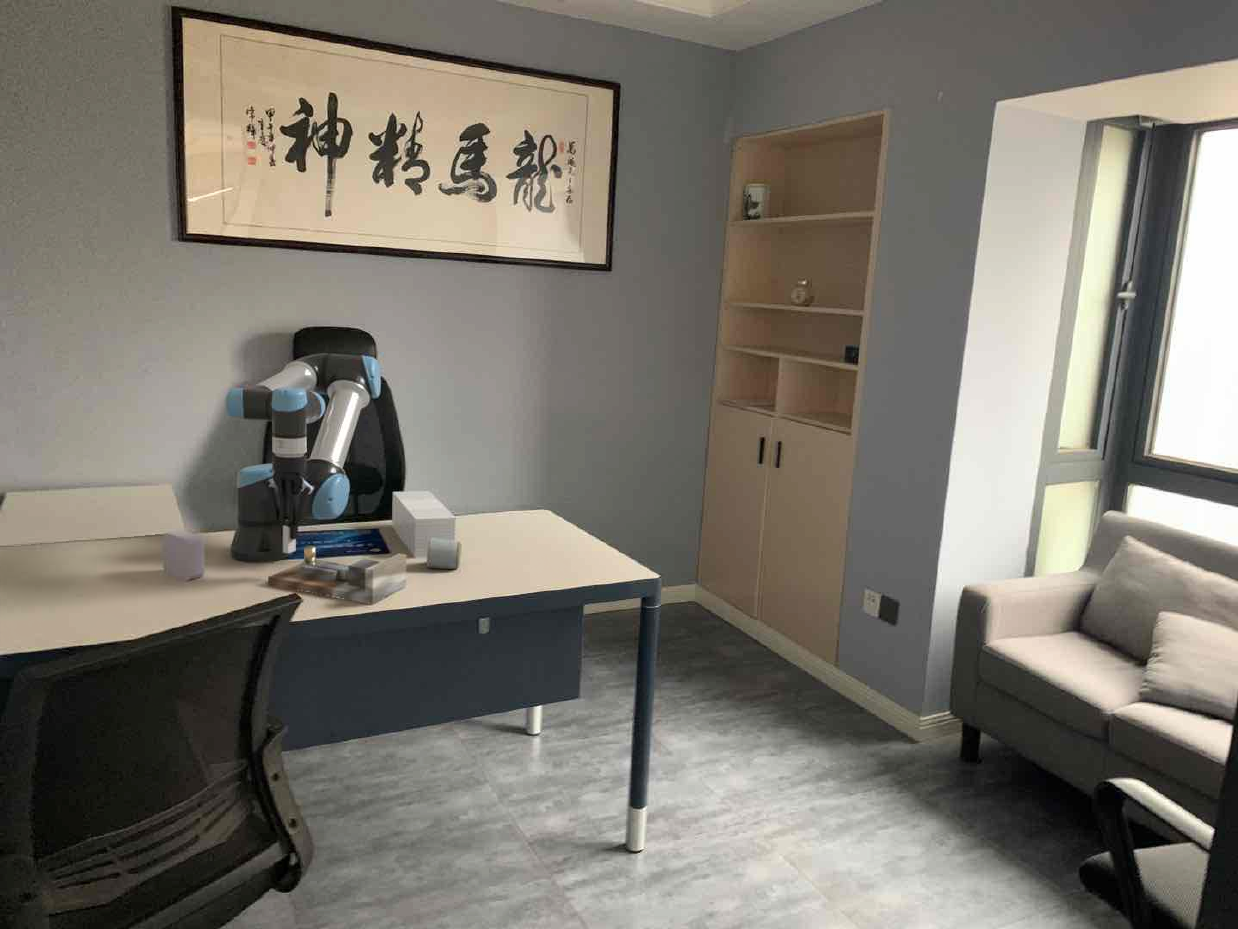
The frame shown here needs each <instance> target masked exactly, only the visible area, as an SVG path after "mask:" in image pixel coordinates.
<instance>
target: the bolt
mask: <svg viewBox="0 0 1238 929" xmlns="http://www.w3.org/2000/svg"><path fill="white" fill-rule="evenodd" d="M316 548H317V547H316V546H314V545H305V546H304V548H303V557H304V558H303V561H302V562H301V563H302V566H303V565H310V566H315V567H321V568H326V569H332V570H338V579H342V580H347V579H348V572H349V567H346V566H340V565H335V564H329V563H323V562H318V561H316V560H317V559H316V558H317V549H316Z"/></svg>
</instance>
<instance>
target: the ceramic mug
mask: <svg viewBox="0 0 1238 929" xmlns="http://www.w3.org/2000/svg"><path fill="white" fill-rule="evenodd" d="M461 556H462V543H461V542H460V541H458V540H456V539H455V540H445V539H438V538H430V541H429V545H428V554H427V557H426V567H427V568H428V569H429V568H430V569H445V570H446V569H448V570H449V569H450V570H451V569H452V570H453V569H458V568H459V566H460V563H461V558H462V557H461Z"/></svg>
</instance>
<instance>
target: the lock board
mask: <svg viewBox="0 0 1238 929" xmlns="http://www.w3.org/2000/svg"><path fill="white" fill-rule="evenodd" d="M316 561H318V562H323V563H329V564H335V565H340V566H346V567H349V572H348V579H347V580H342V579H338V570H332V569H326V568H321V567H315V566H310V565H303V566H302V562H301V563H299V564H296V565H294V566H292V567H289V568H286V569H284V570H282V571H279V572H277V573H275V574H272V575H270V576H268V577H267V585H268V586H272V587H277V588H281V589H282V588H283V589H288V590H292V589H293V590H292V591H297V590H299V592H302V591H309V592H313V593H317V594H316V595H318V594H322V595H321V596H324V595H329V596H334V597H339V598H338V599H340V598H344V599H343V600H345V599H348V600H347V601H350V600H352V601H351V602H356V601H361V602H364V603H363V604H366V603H370V604H369V605H372V604H373V605H375V604H377V603H378V602H377V601H379V602H381V601H382V600H384V599H386V598H387V597H386V596H388V595H390V596H391V594H392V593H393V594H395V593H397V592H398V591H397V590H399V589H401V590H403V589H405V588H406V587H405V586H406V583H407V554H403V553H397V554H395V555H393V556H390V557H389V558H387V559H384V560H382V561H378V560H372V559H366V558H363V559H361V560H359V561H356V562H354V563H352V564H344V563H339V562H332V561H326V560H321V559H316ZM404 587H405V588H404ZM402 588H403V589H402ZM301 590H302V591H301ZM396 591H397V592H396ZM399 591H400V590H399ZM394 592H395V593H394ZM313 593H312V594H313ZM393 594H392V595H393ZM329 596H328V597H329ZM334 597H333V598H334ZM385 597H386V598H385ZM388 597H389V596H388ZM383 598H384V599H383ZM361 602H360V603H361ZM376 602H377V603H376ZM374 603H375V604H374Z"/></svg>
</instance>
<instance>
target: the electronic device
mask: <svg viewBox="0 0 1238 929" xmlns="http://www.w3.org/2000/svg"><path fill="white" fill-rule="evenodd" d="M161 540H162V566H163V572H164V573H165V575H166V574H167V575H169V576H172V577H173V578H178V579H180V580H184V581H191V580H193V579H198V578H201V577H203V576H204V574H205V571H206V570H205V569H206V568H205V540H204V538H203V537H202V536H199V535H197V534H194V533H189V532H188V531H183V530H179V529H178V530H174V531H173V530H172V531H169V532H164V533H162V539H161Z"/></svg>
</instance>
